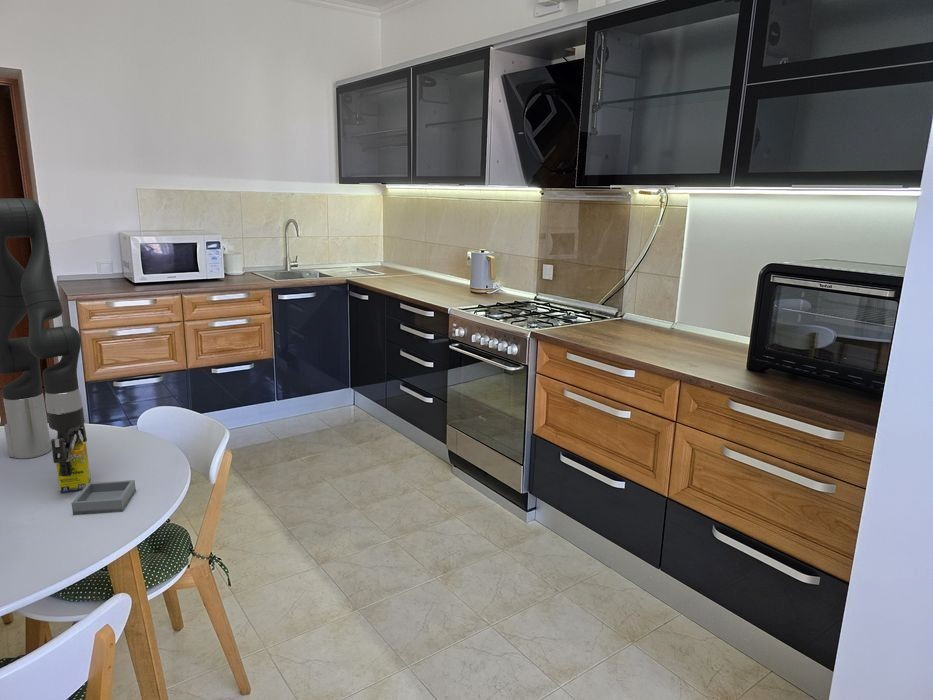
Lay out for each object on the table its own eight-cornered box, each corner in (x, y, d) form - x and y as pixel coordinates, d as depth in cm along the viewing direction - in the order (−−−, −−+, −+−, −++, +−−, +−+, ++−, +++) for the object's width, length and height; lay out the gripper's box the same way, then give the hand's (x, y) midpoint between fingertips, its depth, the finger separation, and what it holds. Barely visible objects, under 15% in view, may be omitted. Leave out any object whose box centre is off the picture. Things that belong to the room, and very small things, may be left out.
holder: (73, 515, 148) (71, 503, 147) (89, 494, 158) (88, 482, 157) (122, 511, 150) (121, 499, 149) (135, 490, 160) (134, 479, 159)
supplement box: (60, 494, 157) (54, 453, 155) (64, 483, 163) (58, 444, 160) (87, 490, 160) (82, 449, 157) (90, 480, 165) (85, 441, 162)
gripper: (59, 399, 162) (68, 458, 166) (34, 417, 148) (44, 482, 152) (91, 397, 163) (99, 456, 167) (70, 416, 150) (79, 479, 154)
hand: (73, 468), depth 160 cm, fingers open, 8 cm apart
